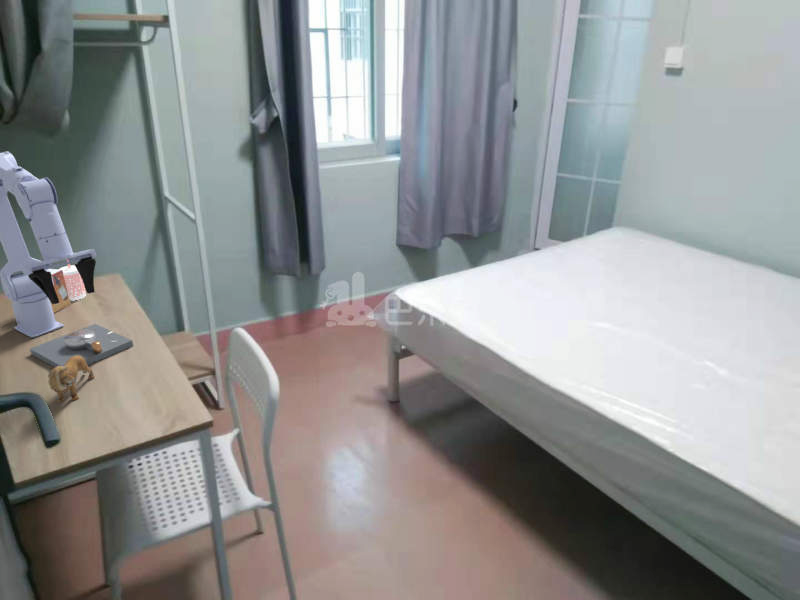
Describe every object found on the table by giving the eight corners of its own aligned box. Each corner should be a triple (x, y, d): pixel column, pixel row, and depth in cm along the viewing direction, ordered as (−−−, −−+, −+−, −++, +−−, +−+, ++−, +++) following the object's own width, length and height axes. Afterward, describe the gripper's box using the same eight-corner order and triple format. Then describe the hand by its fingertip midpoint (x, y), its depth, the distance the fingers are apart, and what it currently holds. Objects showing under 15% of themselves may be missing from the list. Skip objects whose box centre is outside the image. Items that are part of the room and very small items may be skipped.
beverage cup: (76, 292, 168) (65, 247, 162) (93, 294, 167) (83, 249, 161) (60, 300, 163) (47, 254, 157) (77, 303, 161) (66, 256, 156)
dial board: (31, 354, 134) (29, 348, 134) (96, 329, 146) (95, 323, 146) (67, 374, 126) (65, 368, 125) (133, 345, 138) (132, 339, 138)
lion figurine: (79, 409, 114) (69, 370, 110) (50, 413, 113) (38, 374, 109) (97, 372, 127) (88, 336, 123) (71, 375, 126) (61, 339, 122)
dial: (60, 345, 135) (58, 336, 134) (87, 334, 140) (85, 326, 139) (86, 358, 129) (84, 349, 128) (113, 346, 134) (111, 338, 133)
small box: (50, 316, 154) (40, 279, 149) (32, 314, 155) (22, 278, 150) (71, 304, 161) (62, 269, 156) (54, 302, 162) (45, 267, 157)
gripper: (22, 242, 112) (46, 307, 115) (93, 227, 123) (114, 287, 126) (8, 246, 116) (32, 309, 119) (78, 231, 128) (99, 289, 131)
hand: (73, 298), depth 123 cm, fingers open, 7 cm apart
